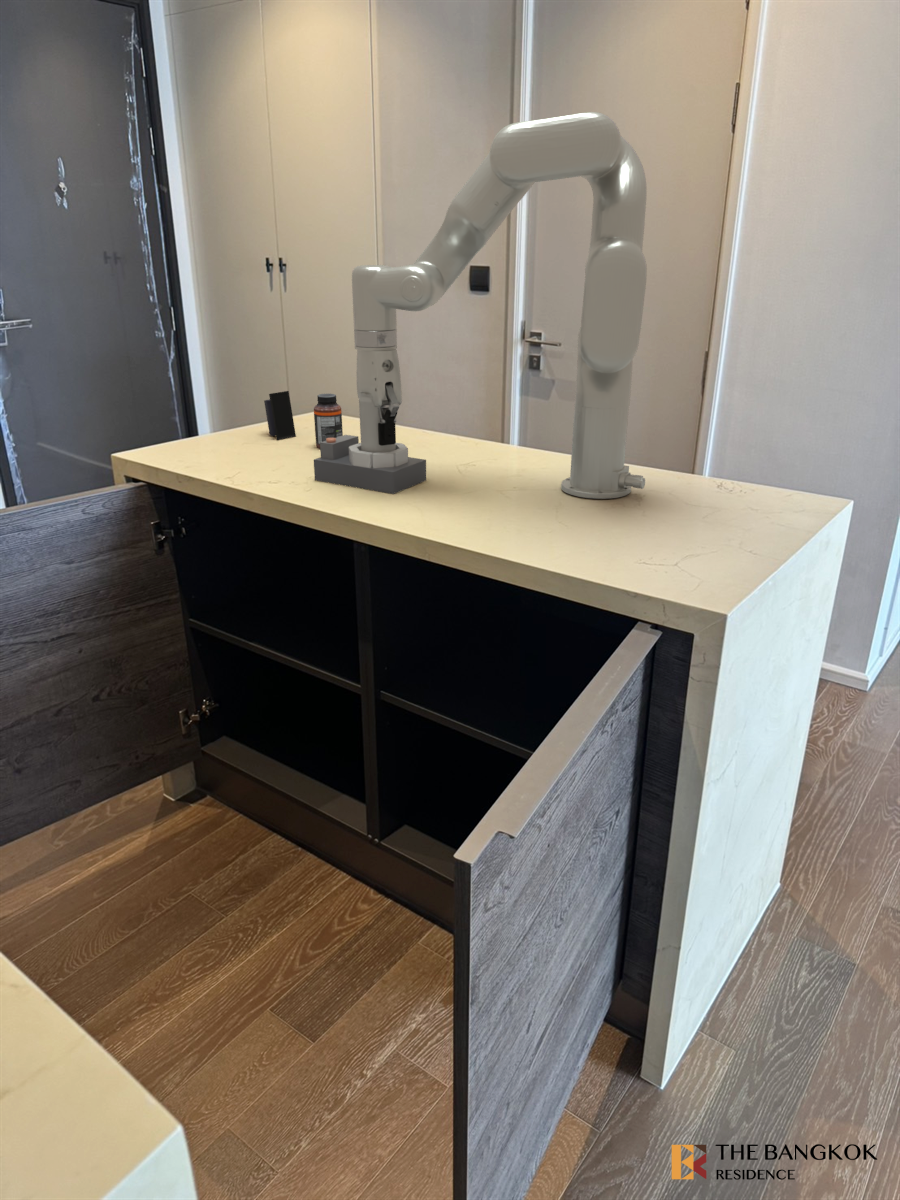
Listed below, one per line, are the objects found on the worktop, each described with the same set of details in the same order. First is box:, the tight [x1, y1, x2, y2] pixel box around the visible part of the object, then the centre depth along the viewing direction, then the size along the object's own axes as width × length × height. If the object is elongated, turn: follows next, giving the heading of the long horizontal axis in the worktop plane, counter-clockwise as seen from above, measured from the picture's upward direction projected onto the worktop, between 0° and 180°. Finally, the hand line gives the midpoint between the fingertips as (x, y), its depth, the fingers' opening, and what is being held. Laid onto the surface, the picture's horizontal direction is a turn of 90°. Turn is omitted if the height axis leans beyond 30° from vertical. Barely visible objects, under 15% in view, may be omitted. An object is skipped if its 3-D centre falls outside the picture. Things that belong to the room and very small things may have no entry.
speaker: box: [263, 390, 297, 441], centre depth 197 cm, size 8×6×10 cm
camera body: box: [313, 434, 427, 495], centre depth 162 cm, size 18×11×8 cm, turn 59°
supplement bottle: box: [313, 393, 344, 449], centre depth 187 cm, size 6×6×11 cm
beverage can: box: [358, 392, 396, 453], centre depth 158 cm, size 6×6×12 cm
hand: (379, 440), depth 159 cm, fingers closed on beverage can, 6 cm apart
